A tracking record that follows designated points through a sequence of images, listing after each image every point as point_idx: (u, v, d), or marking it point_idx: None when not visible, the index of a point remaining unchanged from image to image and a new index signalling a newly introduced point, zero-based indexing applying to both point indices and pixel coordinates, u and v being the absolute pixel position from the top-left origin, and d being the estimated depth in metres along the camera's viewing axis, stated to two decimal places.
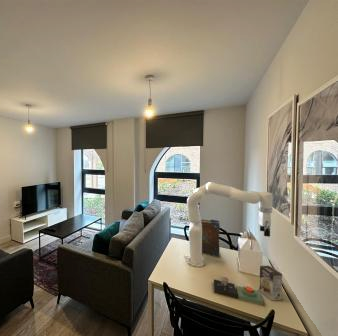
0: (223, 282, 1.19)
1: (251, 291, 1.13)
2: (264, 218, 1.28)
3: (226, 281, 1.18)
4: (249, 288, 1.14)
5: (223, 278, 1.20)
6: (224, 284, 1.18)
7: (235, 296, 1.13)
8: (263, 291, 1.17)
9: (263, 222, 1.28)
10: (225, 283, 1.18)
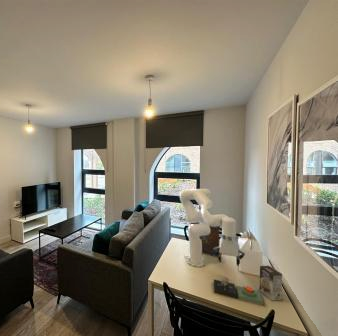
0: (223, 282, 1.19)
1: (251, 291, 1.13)
2: None
3: (226, 281, 1.18)
4: (249, 288, 1.14)
5: (223, 278, 1.20)
6: (224, 284, 1.18)
7: (235, 296, 1.13)
8: (263, 291, 1.17)
9: None
10: (225, 283, 1.18)
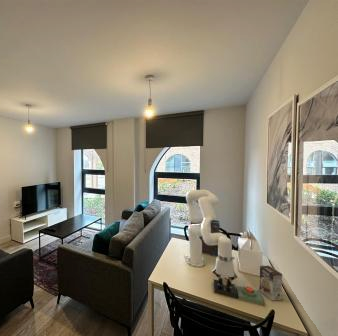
0: (223, 282, 1.19)
1: (251, 291, 1.13)
2: None
3: (226, 281, 1.18)
4: (249, 288, 1.14)
5: (223, 278, 1.20)
6: (224, 284, 1.18)
7: (235, 296, 1.13)
8: (263, 291, 1.17)
9: None
10: (225, 283, 1.18)
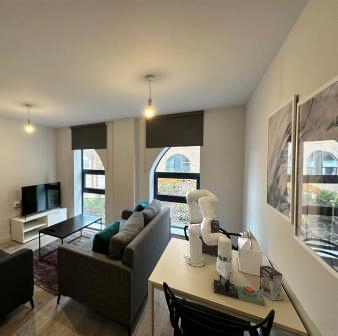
0: None
1: (251, 291, 1.13)
2: (227, 269, 1.15)
3: None
4: (249, 288, 1.14)
5: None
6: None
7: (235, 296, 1.13)
8: (263, 291, 1.17)
9: (226, 273, 1.15)
10: None
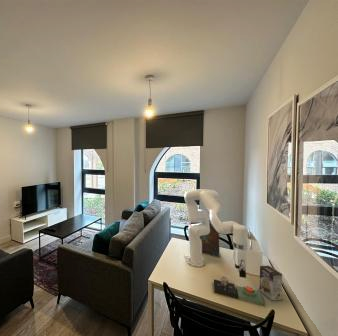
0: None
1: (251, 291, 1.13)
2: (239, 256, 1.11)
3: None
4: (249, 288, 1.14)
5: (225, 279, 1.19)
6: None
7: (235, 296, 1.13)
8: (263, 291, 1.17)
9: (238, 261, 1.12)
10: None
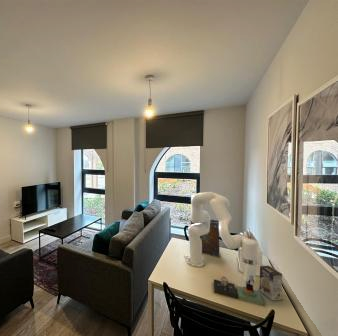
0: None
1: (251, 292, 1.13)
2: (248, 271, 1.10)
3: None
4: None
5: (225, 279, 1.19)
6: None
7: (235, 296, 1.13)
8: (263, 291, 1.17)
9: (247, 276, 1.10)
10: None
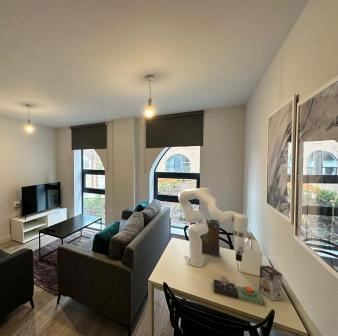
0: None
1: (251, 291, 1.13)
2: (238, 243, 1.19)
3: None
4: (249, 288, 1.14)
5: (225, 279, 1.19)
6: None
7: (235, 296, 1.13)
8: (263, 291, 1.17)
9: (236, 247, 1.19)
10: None
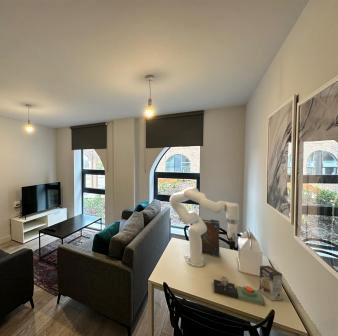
0: None
1: (251, 291, 1.13)
2: (230, 230, 1.27)
3: None
4: (249, 288, 1.14)
5: (225, 279, 1.19)
6: None
7: (235, 296, 1.13)
8: (263, 291, 1.17)
9: (229, 233, 1.27)
10: None
